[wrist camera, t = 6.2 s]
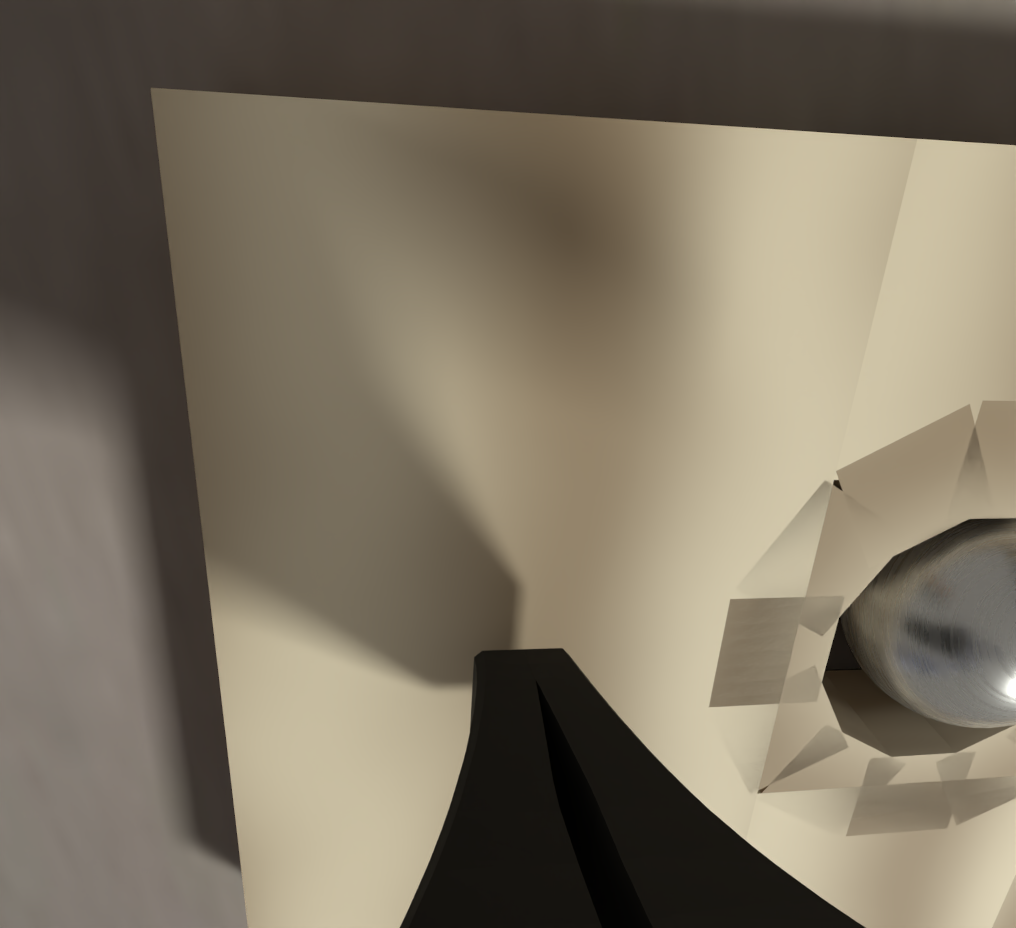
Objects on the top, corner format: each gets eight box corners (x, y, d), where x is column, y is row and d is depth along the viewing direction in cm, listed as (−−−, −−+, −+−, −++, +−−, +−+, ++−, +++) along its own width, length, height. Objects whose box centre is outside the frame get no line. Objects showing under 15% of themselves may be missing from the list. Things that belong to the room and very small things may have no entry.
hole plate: (276, 893, 17) (257, 1011, 14) (204, 98, 11) (150, 87, 8) (999, 834, 19) (1078, 927, 17) (1279, 169, 13) (1464, 175, 11)
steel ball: (1210, 681, 12) (1019, 618, 16) (1096, 463, 11) (930, 455, 15) (999, 818, 12) (860, 718, 16) (877, 599, 11) (766, 556, 15)
